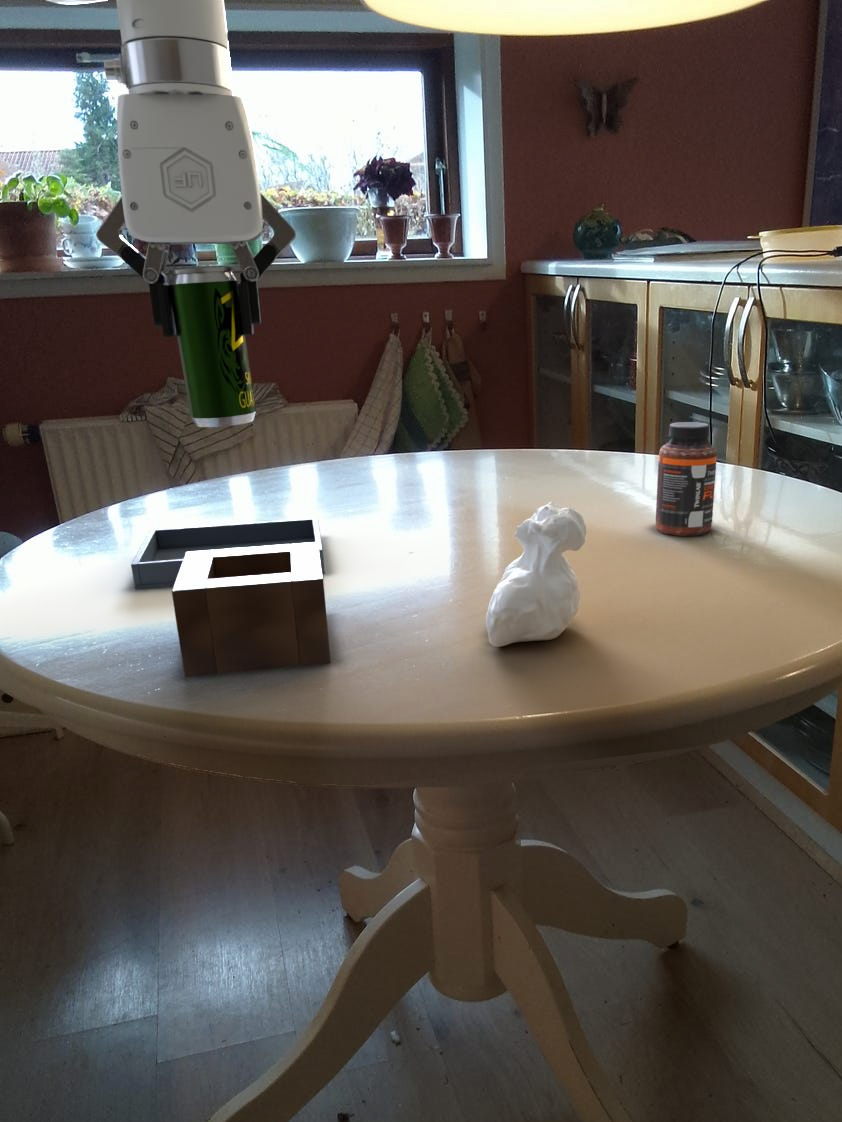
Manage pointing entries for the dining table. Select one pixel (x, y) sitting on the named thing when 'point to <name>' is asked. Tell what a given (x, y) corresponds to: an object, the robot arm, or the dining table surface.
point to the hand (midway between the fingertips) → (209, 332)
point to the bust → (538, 580)
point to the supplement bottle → (686, 481)
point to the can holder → (251, 609)
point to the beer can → (212, 346)
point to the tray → (213, 545)
